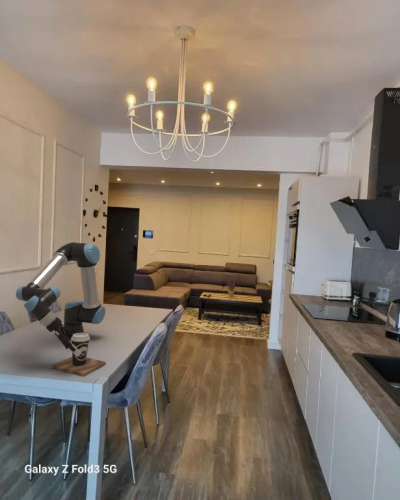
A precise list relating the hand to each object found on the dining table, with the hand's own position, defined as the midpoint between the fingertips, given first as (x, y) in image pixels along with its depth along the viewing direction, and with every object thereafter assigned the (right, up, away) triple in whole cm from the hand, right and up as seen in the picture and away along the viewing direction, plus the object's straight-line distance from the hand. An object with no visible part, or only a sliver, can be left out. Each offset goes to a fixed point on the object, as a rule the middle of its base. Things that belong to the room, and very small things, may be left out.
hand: (80, 350), depth 183 cm
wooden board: (-1, -9, +1) cm, 9 cm away
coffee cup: (-1, -7, +1) cm, 7 cm away
